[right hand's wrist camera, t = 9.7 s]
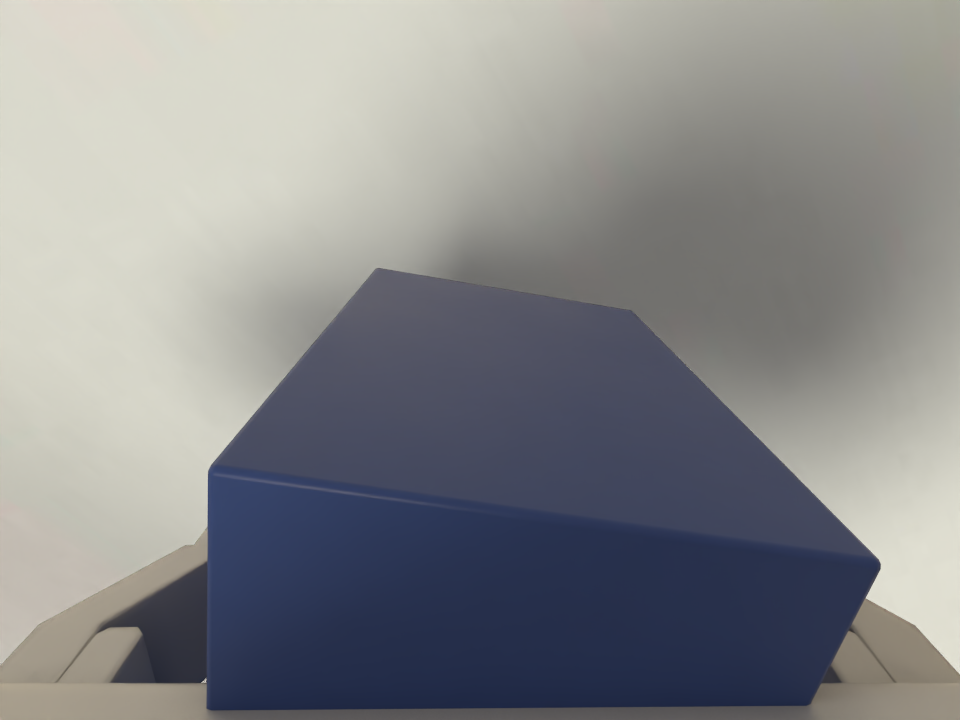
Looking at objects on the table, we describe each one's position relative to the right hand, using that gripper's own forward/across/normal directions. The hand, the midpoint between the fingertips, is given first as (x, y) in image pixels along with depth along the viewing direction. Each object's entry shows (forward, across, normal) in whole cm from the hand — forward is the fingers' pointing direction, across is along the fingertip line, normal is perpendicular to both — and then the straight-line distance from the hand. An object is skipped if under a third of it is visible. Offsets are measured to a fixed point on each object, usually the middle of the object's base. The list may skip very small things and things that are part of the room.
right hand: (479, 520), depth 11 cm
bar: (+3, -1, -8) cm, 8 cm away
